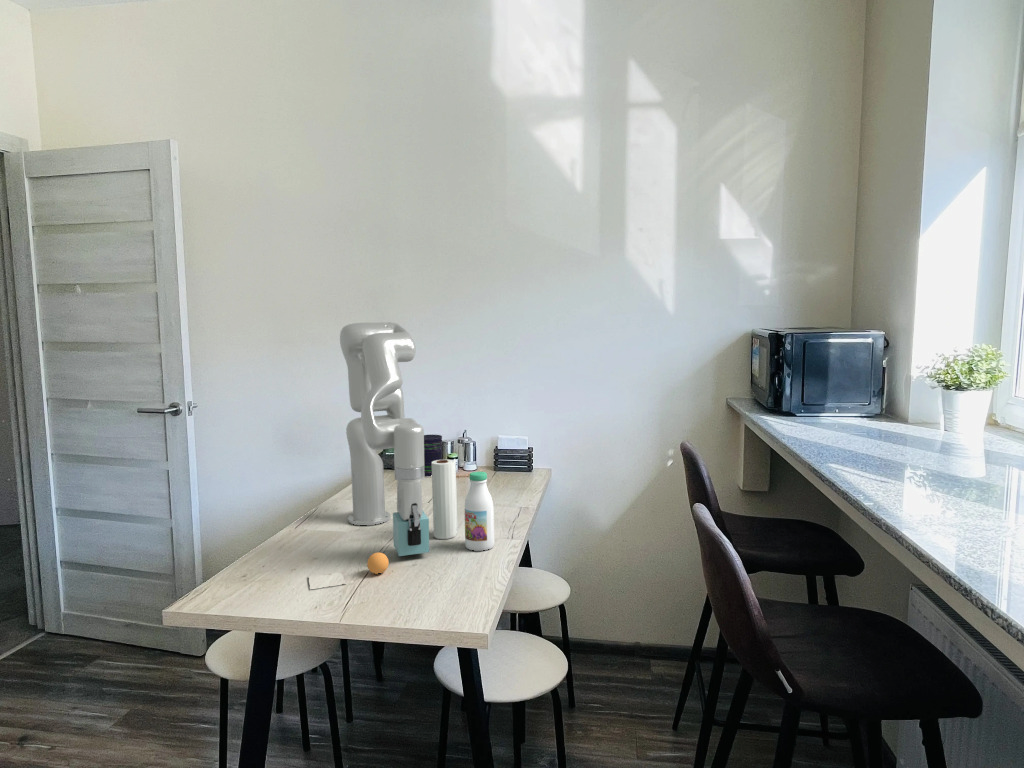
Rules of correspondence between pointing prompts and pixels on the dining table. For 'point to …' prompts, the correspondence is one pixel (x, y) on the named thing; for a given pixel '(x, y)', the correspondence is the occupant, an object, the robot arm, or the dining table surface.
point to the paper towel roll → (444, 498)
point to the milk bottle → (479, 514)
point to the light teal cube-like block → (402, 535)
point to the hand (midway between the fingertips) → (411, 538)
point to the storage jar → (431, 451)
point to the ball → (378, 563)
